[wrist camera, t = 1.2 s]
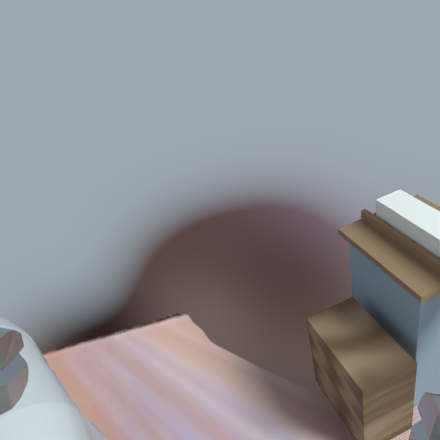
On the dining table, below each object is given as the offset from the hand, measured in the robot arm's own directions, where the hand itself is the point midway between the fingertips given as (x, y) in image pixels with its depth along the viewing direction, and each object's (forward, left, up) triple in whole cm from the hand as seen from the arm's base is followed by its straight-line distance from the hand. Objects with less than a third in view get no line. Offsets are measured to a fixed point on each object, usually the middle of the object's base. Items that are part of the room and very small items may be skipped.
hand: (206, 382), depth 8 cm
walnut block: (+8, +30, -55) cm, 63 cm away
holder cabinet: (+18, +38, -55) cm, 69 cm away
